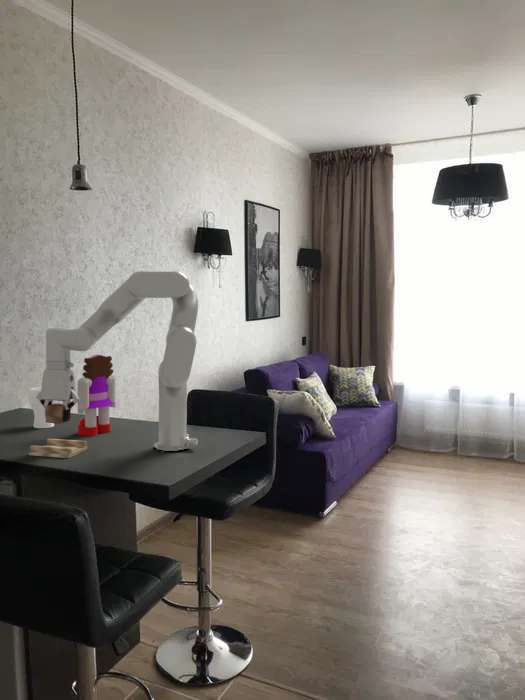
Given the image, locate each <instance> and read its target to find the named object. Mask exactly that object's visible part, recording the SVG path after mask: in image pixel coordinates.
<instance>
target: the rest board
mask: <svg viewBox="0 0 525 700" xmlns="http://www.w3.org/2000/svg"><path fill="white" fill-rule="evenodd" d="M87 442H88V441H87V440H76V439H62V438H61V439H60V438H47V439H46V444H44V445H30V446H29V452H28V456H34V457H35V456H37V457H48V458H49V457H50V458H63V459H70V458H72V457H74V456H76V455H78V454H81V453H82V452H84V451H86V450H88V443H87Z"/></svg>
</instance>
